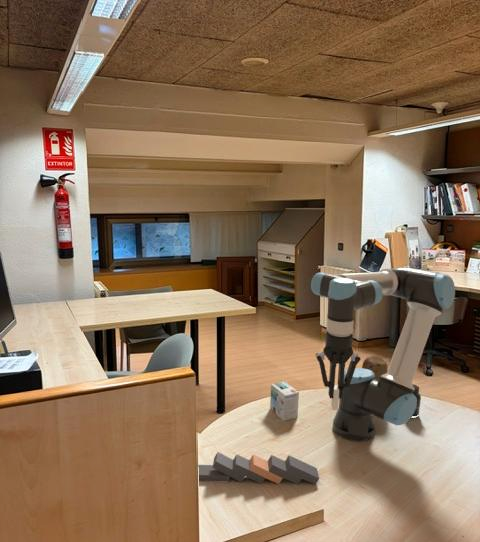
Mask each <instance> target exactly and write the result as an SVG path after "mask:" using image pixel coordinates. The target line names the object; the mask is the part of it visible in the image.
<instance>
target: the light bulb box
mask: <svg viewBox="0 0 480 542" xmlns="http://www.w3.org/2000/svg"><path fill="white" fill-rule="evenodd" d="M299 396H300V394H299V391H298V390H296V389H295V388H294V387H293V386H291V385H290V384H288V383H287V382H286V381H280V382H275V383H272V384H270V402H269V405H270V406H269V409H270V410H271V411H272V412H273V413H274V414H275V413H276V414H275V415H276V416H277V417H278V418H280V419H281V420H282V421H283V422H285V421H289V420H292V419H297V418H298V413H299V400H300V399H299V398H300V397H299Z"/></svg>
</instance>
